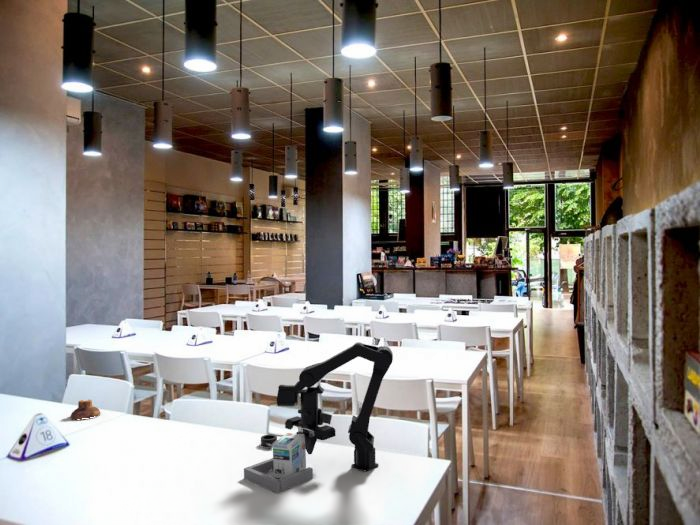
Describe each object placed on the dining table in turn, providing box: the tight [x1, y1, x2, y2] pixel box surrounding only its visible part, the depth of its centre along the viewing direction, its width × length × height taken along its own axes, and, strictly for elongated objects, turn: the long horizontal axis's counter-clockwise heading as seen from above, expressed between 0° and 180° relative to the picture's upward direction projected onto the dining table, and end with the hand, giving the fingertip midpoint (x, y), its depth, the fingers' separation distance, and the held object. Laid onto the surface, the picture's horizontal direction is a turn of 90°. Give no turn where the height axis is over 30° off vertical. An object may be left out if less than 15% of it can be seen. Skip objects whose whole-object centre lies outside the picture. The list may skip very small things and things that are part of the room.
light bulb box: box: [272, 432, 307, 479], centre depth 168 cm, size 11×7×11 cm, turn 161°
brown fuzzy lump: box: [70, 398, 101, 420], centre depth 232 cm, size 12×12×7 cm
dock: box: [243, 457, 314, 494], centre depth 164 cm, size 16×14×3 cm
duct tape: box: [260, 434, 278, 448], centre depth 194 cm, size 8×10×3 cm
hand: (310, 453), depth 174 cm, fingers closed
